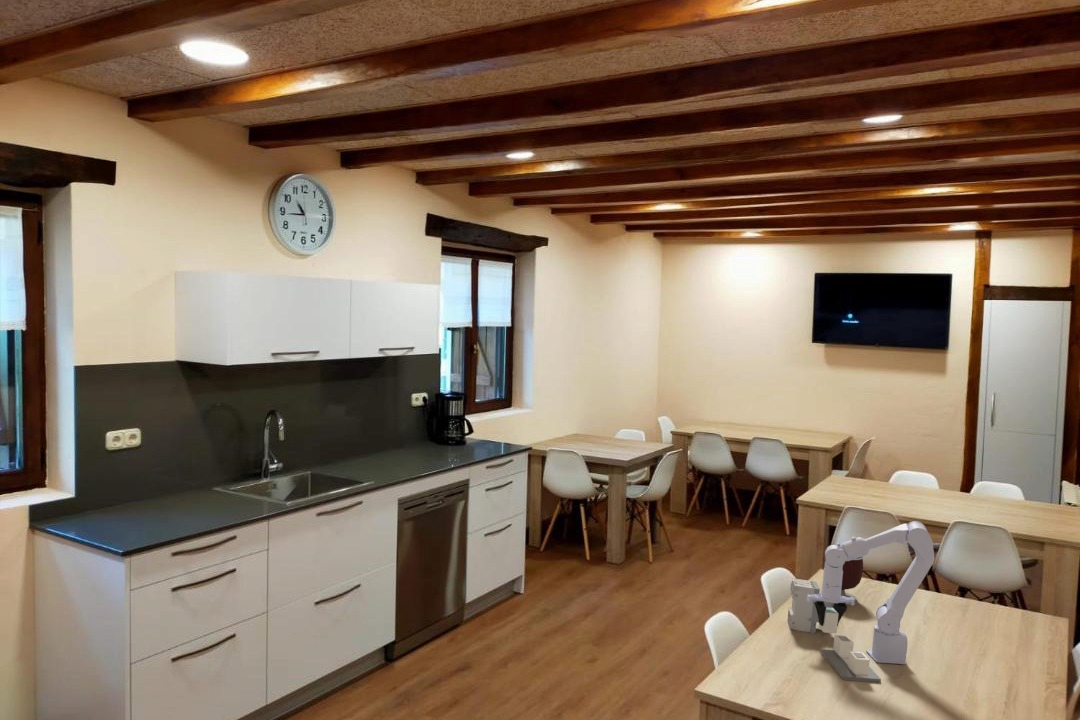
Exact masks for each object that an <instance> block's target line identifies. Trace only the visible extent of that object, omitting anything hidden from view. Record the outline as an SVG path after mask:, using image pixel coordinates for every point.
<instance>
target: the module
mask: <svg viewBox="0 0 1080 720" xmlns="http://www.w3.org/2000/svg"><path fill="white" fill-rule="evenodd" d="M837 624H838V613H837V611H836V610H835V609H834V608H826V611H825V615H824V624H823V626H821V625H820V624H819V623H818V628H819V629H820V630H821V631H822V632H823V633H824V634H825V633H826V634H837V632H838V627H837ZM838 625H839V624H838Z"/></svg>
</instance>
